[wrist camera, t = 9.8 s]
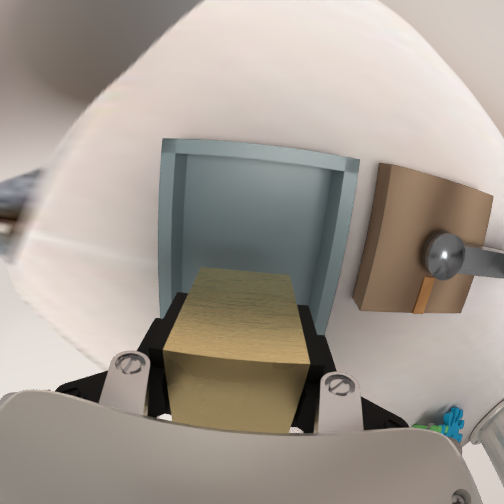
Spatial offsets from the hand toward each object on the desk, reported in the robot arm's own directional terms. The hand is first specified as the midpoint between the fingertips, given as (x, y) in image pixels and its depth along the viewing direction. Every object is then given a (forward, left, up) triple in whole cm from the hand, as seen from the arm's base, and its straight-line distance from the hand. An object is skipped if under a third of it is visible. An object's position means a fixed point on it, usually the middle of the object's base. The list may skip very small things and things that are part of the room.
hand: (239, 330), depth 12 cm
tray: (0, 0, -8) cm, 8 cm away
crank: (-18, -3, -6) cm, 19 cm away
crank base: (-13, -3, -8) cm, 16 cm away
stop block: (0, 0, -2) cm, 2 cm away
